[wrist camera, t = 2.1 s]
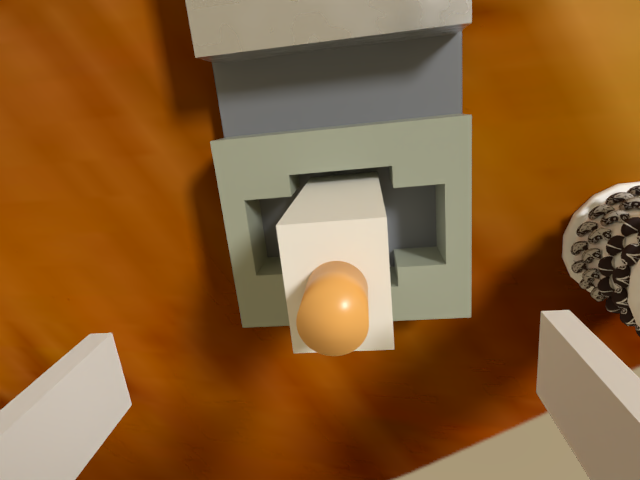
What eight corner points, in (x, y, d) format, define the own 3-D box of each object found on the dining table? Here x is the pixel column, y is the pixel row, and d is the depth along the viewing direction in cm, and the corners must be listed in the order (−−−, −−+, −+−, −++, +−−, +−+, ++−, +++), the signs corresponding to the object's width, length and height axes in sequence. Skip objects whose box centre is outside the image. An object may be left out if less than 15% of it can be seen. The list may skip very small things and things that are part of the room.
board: (182, -167, 25) (171, -183, 23) (454, -220, 23) (460, -241, 22) (257, 299, 34) (252, 308, 32) (458, 289, 32) (462, 297, 30)
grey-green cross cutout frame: (227, 137, 28) (209, 141, 25) (458, 113, 27) (471, 114, 23) (255, 304, 32) (242, 327, 29) (459, 294, 30) (471, 317, 27)
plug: (310, 177, 29) (258, 249, 15) (377, 171, 28) (391, 240, 14) (319, 260, 31) (281, 396, 16) (382, 256, 30) (400, 393, 16)
